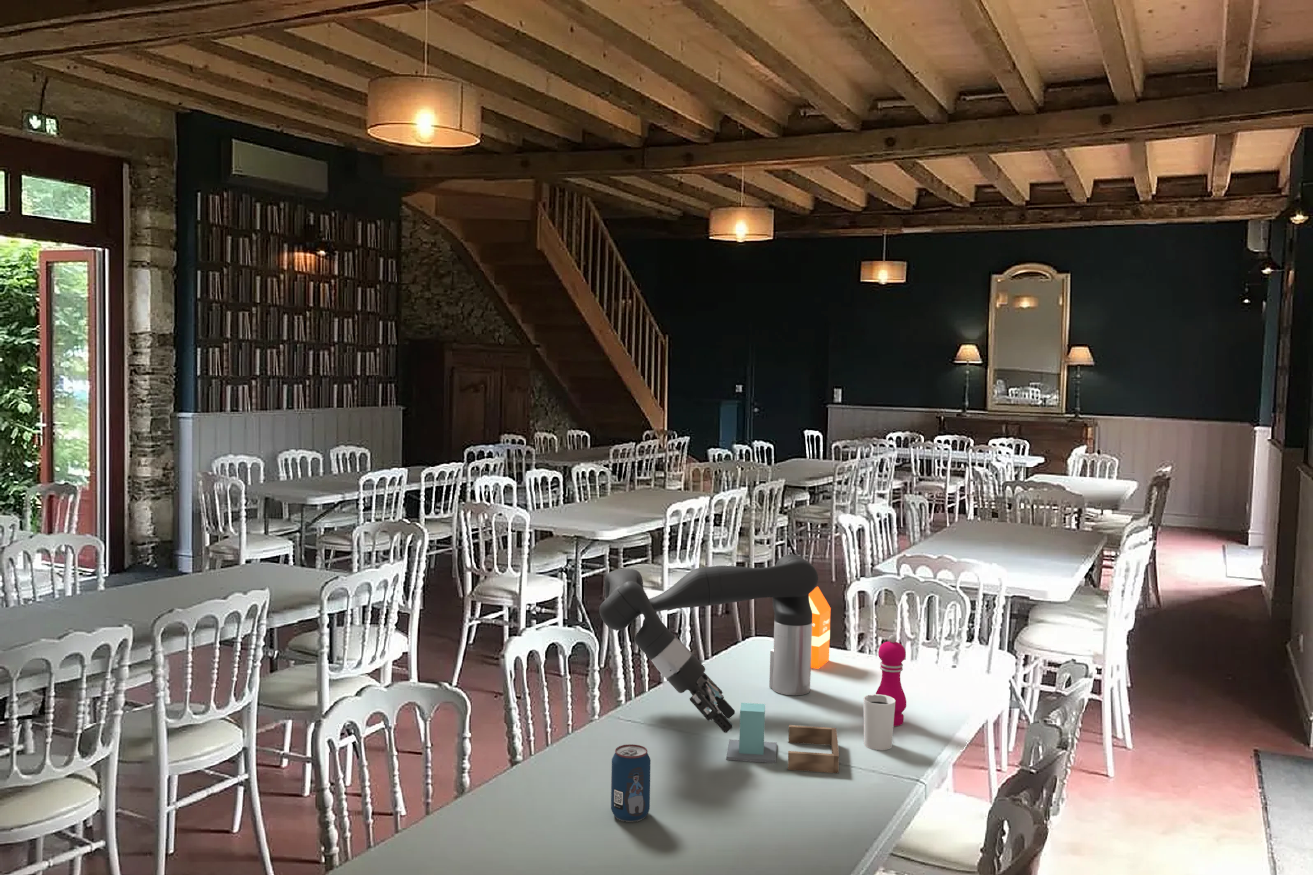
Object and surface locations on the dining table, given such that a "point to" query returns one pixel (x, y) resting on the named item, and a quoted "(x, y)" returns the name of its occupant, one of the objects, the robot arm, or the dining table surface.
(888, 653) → the pepper mill
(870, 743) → the white paper cup
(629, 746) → the soda can
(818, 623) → the orange juice
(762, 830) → the dining table surface
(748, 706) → the teal block
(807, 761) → the walnut cubby
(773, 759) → the slate mat
